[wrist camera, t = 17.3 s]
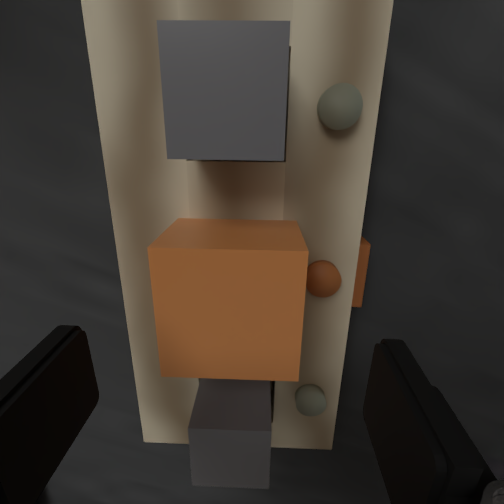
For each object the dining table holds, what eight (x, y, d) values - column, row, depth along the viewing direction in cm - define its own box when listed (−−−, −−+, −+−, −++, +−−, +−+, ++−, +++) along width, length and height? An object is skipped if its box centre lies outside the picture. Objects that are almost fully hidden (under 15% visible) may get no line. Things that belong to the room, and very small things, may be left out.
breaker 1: (281, 59, 15) (290, 20, 10) (277, 153, 17) (284, 160, 12) (191, 58, 16) (156, 20, 10) (196, 152, 17) (167, 158, 12)
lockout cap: (296, 220, 17) (308, 251, 13) (289, 323, 20) (298, 381, 15) (178, 218, 18) (147, 247, 13) (185, 320, 20) (160, 376, 15)
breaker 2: (269, 361, 22) (271, 431, 16) (267, 410, 23) (269, 489, 18) (205, 359, 22) (187, 428, 17) (207, 408, 23) (192, 485, 18)
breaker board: (378, 15, 17) (418, -27, 13) (329, 406, 27) (342, 460, 23) (117, 14, 18) (67, -27, 13) (160, 400, 27) (140, 451, 23)
